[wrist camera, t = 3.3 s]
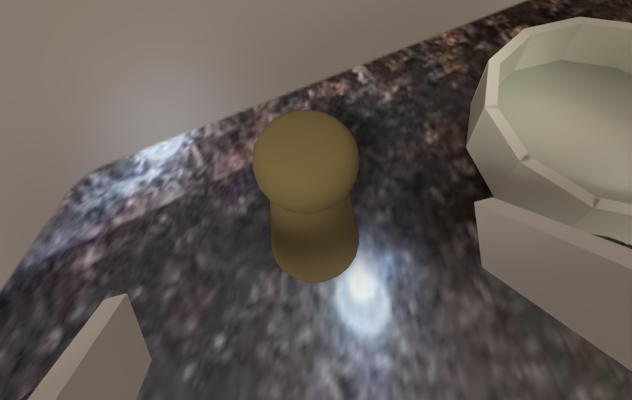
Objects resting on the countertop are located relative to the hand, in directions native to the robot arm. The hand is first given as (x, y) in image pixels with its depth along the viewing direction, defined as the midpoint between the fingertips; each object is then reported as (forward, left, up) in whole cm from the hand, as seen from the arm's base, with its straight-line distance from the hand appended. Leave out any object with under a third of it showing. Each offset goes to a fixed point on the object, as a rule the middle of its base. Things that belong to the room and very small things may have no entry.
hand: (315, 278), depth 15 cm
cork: (-1, -6, -11) cm, 13 cm away
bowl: (-23, -9, -11) cm, 27 cm away
